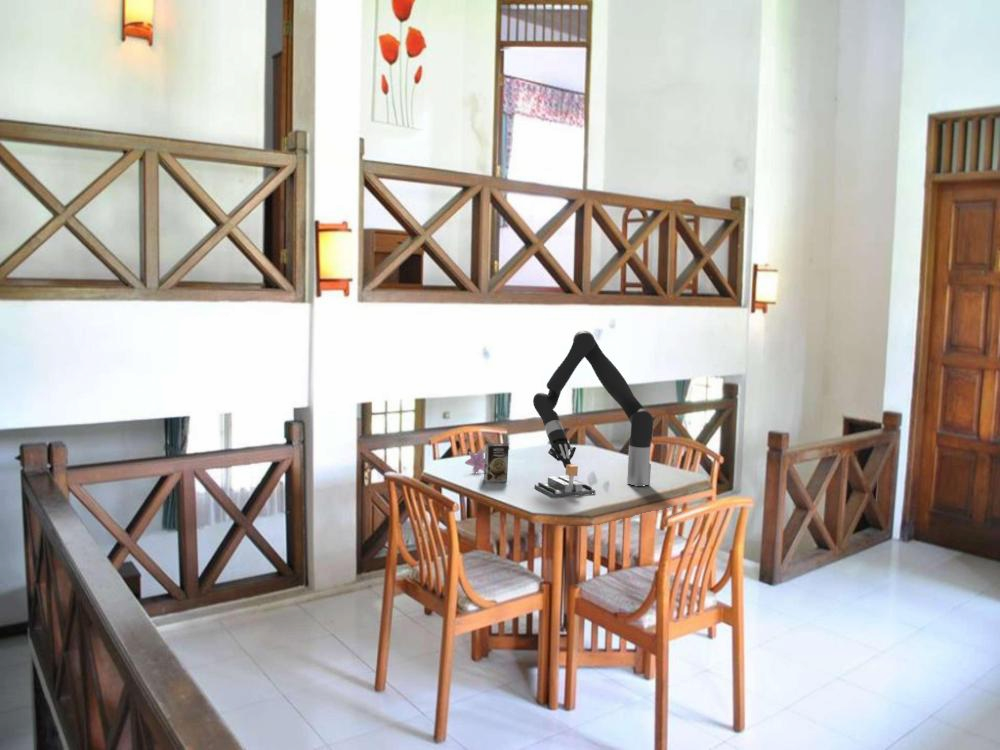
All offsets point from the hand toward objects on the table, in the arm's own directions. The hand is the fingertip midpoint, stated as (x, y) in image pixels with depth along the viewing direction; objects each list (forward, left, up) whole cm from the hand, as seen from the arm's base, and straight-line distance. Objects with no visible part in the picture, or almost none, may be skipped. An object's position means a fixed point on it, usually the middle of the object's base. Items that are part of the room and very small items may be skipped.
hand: (568, 468), depth 341 cm
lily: (+34, -36, -11) cm, 51 cm away
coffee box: (+28, -19, -11) cm, 35 cm away
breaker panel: (+1, -2, -10) cm, 11 cm away
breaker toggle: (-1, +2, -8) cm, 9 cm away
